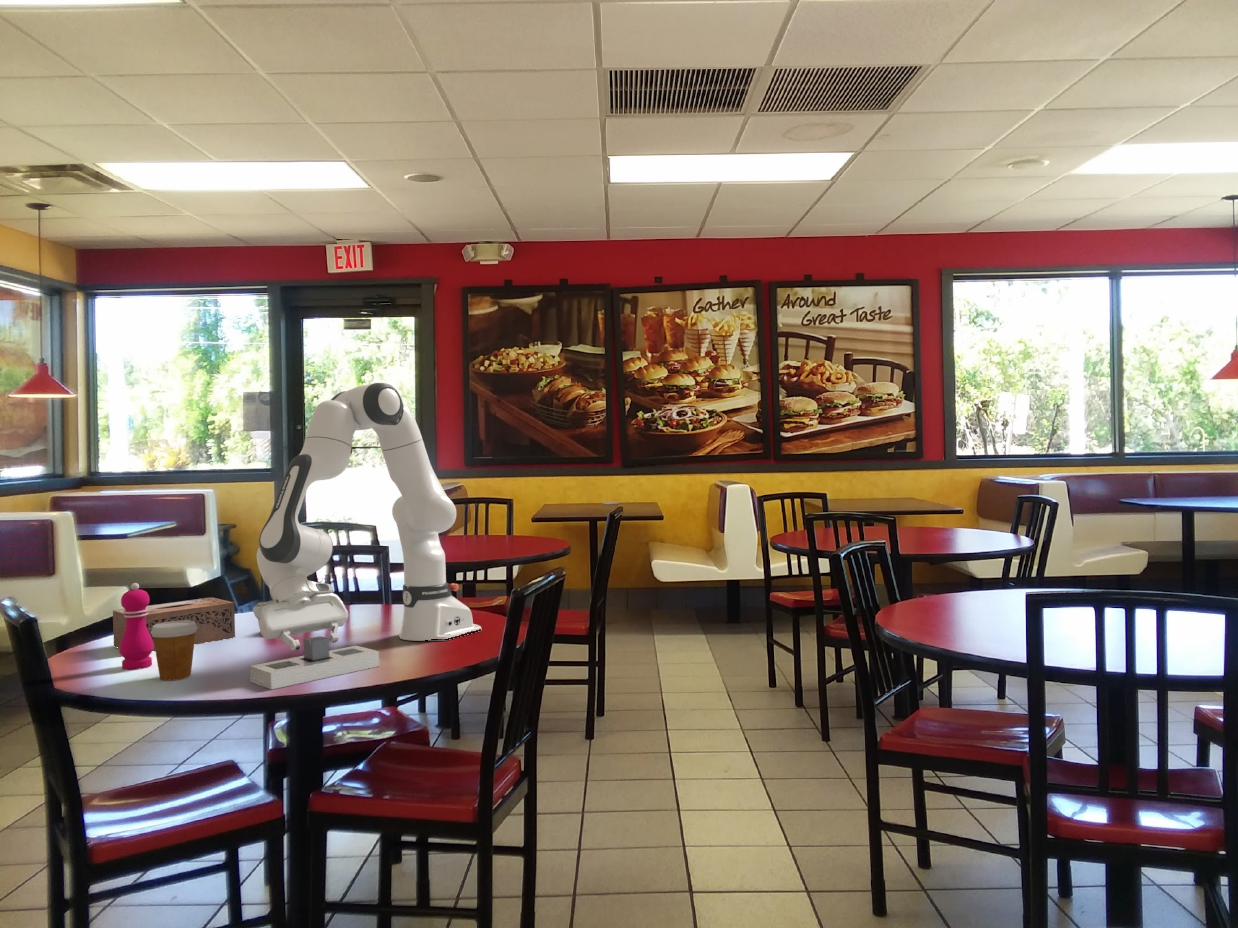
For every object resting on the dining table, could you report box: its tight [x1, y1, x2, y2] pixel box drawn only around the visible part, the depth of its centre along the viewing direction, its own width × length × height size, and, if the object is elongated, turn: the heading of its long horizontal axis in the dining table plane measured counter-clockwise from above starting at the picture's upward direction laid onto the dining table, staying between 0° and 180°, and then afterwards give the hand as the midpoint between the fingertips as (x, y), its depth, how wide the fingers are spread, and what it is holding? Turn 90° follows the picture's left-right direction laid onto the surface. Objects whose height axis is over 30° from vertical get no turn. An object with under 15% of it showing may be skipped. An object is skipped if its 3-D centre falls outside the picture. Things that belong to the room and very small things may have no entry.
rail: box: [249, 645, 380, 690], centre depth 202 cm, size 26×10×4 cm, turn 137°
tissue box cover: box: [112, 597, 236, 652], centre depth 239 cm, size 26×14×10 cm, turn 137°
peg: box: [303, 635, 330, 662], centre depth 202 cm, size 4×4×8 cm
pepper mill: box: [118, 582, 154, 670], centre depth 212 cm, size 7×7×20 cm
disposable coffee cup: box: [151, 621, 198, 681], centre depth 201 cm, size 10×10×12 cm
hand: (316, 644), depth 202 cm, fingers open, 8 cm apart
